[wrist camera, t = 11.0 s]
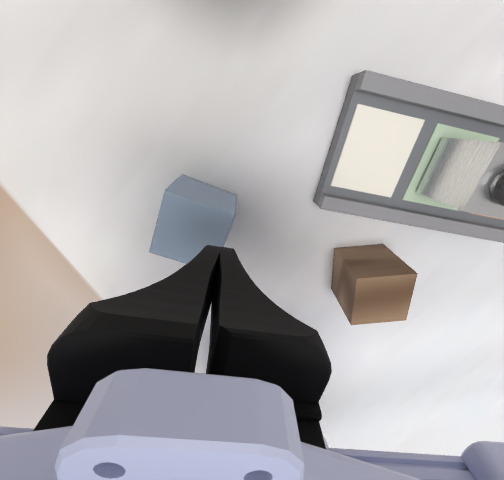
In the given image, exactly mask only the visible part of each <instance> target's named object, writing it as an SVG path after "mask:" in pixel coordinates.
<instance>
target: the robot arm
mask: <svg viewBox="0 0 504 480" xmlns="http://www.w3.org/2000/svg"><path fill="white" fill-rule="evenodd" d="M211 301H212V304H211ZM210 305H211V327H210V346H209V355H208V362H207V369H206V374H201V373H194V371H195V366H196V360H197V354H198V349H199V345H200V341H201V337H202V333H203V330H204V326H205V323H206V319H207V316H208V312H209V309H210ZM47 366H48V371H49V376H50V381H51V386H52V391H53V396H54V401H53V402H52V403H51V405H50V406H49V408H48V409H47V411H46V412H45V414H44V415H43V417H42V418H41V420H40V421H39V423H38V424H37V426H36V428H35V429H29V428H14V427H13V428H12V427H0V480H504V443H503V442H489V441H479V442H476V443H473V444H471V445H470V446H468V447H467V448H466V449H465V450H464V452H463V453H462V455H461V456H446V455H430V454H415V453H399V452H384V451H368V450H353V449H338V448H329V447H328V445H327V442H326V440H325V438H324V437H323V435H322V431H321V428H320V424H319V421H320V420H321V418H322V414H321V410H320V406H319V403H318V402H319V400H320V398H321V396H322V394H323V392H324V390H325V387H326V385H327V383H328V381H329V379H330V375H331V372H332V371H331V362H330V359H329V357H328V354H327V351H326V349H325V346H324V344H323V342H322V340H321V338H320V336H319V334H318V332H317V330H315V329H313V328H311V327H309V326H308V325H306V324H304V323H302V322H301V321H299V320H297V319H295V318H294V317H292V316H291V315H289V314H288V313H286V312H285V311H284V310H282V309H281V308H280V307H278V306H277V305H276V304H275V303H274V302H272V301H271V300H270V299H269V298H268V297H267V296H266V295H265V294H264V293H263V292H262V291H261V290H260V289H259V288H258V287H257V286H256V285H255V284H254V282H253V281H252V280H251V278H250V277H249V276H248V274H247V273H246V271H245V269H244V268H243V266H242V264H241V262H240V261H239V259H238V257H237V254H236V252H235V250H234V249H231V248H225V247H219V246H212V245H206V246H205V247H204V248H203V249H202V250H201V251H200V252H199V253H198V254H197V255H196V256H195V257H194V258H193V259H192V260H191V261H190V262H188V263H187V264H186V265H185V266H183V267H182V268H181V269H179V270H178V271H177V272H175V273H173V274H172V275H170V276H169V277H167V278H165V279H163V280H161V281H159V282H157V283H154V284H152V285H150V286H148V287H146V288H143V289H140V290H137V291H135V292H131V293H128V294H125V295H122V296H118V297H114V298H110V299H106V300H101V301H98V302H92V303H89V305H87V307H86V308H85V309H83V310H82V311H81V312H80V313H79V314H78V315H77V317H75V319H74V320H73V321H72V322H71V323H70V324H69V325H68V327H67V328H66V329H65V330H64V332H63V333H62V334H61V335H60V336H59V337H58V339H57V340H56V341H55V342H54V343H53V345H52V346H51V348H50V350H49V353H48V355H47Z"/></svg>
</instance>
